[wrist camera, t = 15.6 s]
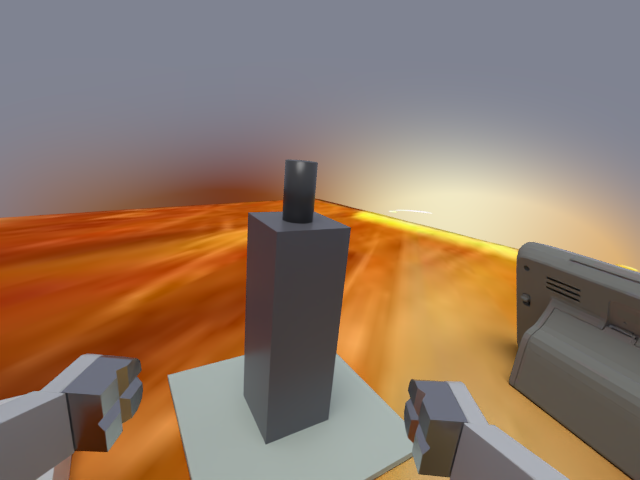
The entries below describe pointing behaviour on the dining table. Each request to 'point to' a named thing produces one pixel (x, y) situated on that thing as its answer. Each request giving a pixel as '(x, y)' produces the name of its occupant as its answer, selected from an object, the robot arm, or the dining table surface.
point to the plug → (293, 308)
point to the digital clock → (581, 348)
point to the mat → (291, 451)
